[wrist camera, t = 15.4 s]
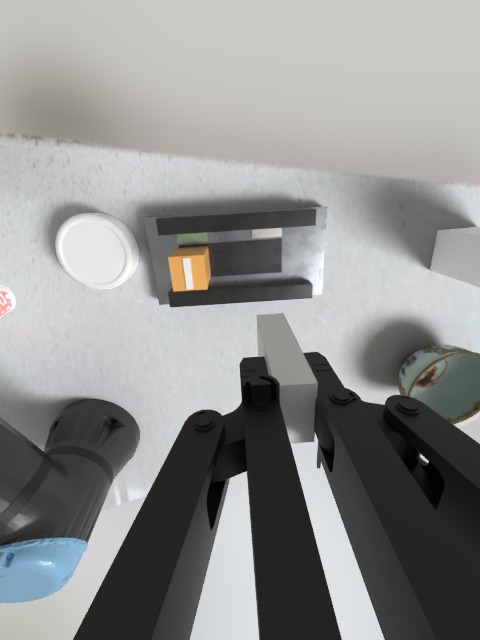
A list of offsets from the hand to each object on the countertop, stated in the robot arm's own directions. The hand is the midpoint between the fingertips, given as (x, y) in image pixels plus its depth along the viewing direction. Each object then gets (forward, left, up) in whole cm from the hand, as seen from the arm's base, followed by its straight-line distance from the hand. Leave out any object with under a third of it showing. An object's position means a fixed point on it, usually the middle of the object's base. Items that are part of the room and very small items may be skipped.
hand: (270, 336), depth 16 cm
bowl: (+30, -21, -27) cm, 45 cm away
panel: (-1, 0, -26) cm, 26 cm away
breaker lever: (-7, 0, -24) cm, 25 cm away
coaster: (-20, +2, -27) cm, 34 cm away
